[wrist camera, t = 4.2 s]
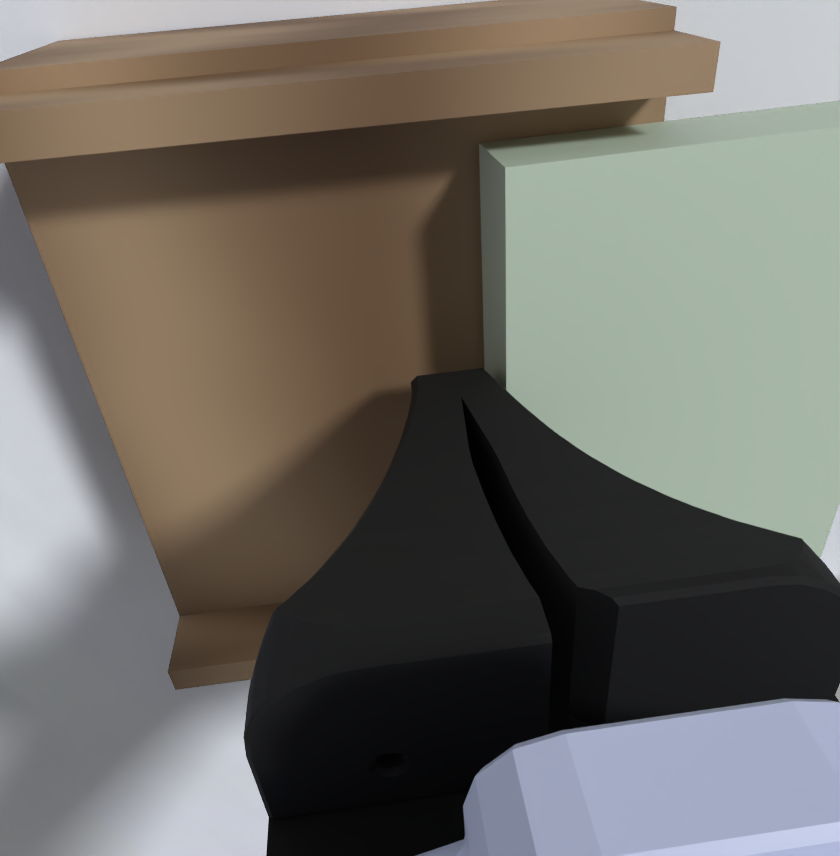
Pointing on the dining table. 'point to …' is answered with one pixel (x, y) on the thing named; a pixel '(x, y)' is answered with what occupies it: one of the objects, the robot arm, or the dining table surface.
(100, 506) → the dining table surface
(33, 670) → the dining table surface
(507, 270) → the cover plate
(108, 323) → the walnut box
